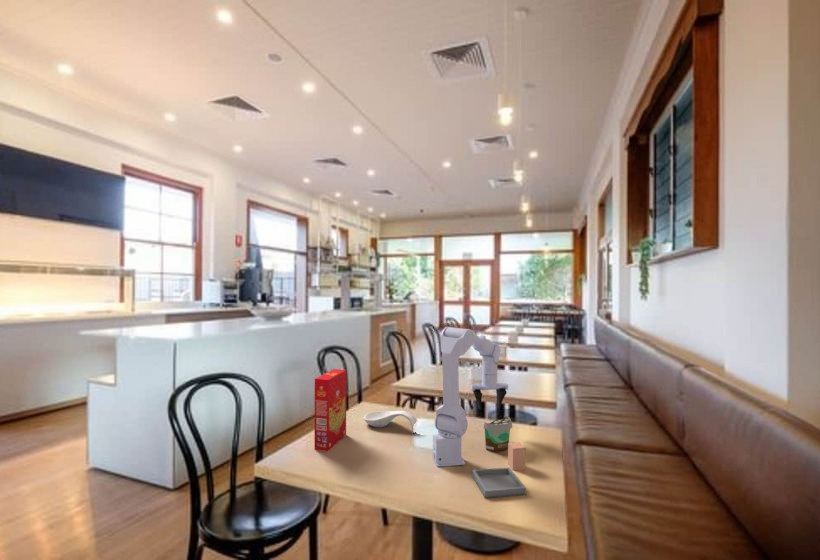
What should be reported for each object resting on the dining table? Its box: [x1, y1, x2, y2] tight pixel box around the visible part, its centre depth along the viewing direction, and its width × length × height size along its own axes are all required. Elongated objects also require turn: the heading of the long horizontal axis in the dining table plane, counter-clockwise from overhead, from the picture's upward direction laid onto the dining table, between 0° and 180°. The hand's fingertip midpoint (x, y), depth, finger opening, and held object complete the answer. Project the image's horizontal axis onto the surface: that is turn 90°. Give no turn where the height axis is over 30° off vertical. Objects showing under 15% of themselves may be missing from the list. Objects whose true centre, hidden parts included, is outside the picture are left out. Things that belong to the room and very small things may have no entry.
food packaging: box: [314, 368, 347, 452], centre depth 148 cm, size 15×5×25 cm, turn 164°
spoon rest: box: [363, 410, 418, 434], centre depth 163 cm, size 24×12×7 cm, turn 64°
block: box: [507, 442, 526, 471], centre depth 130 cm, size 4×4×7 cm
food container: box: [483, 415, 513, 453], centre depth 143 cm, size 12×6×10 cm, turn 129°
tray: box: [471, 466, 527, 499], centre depth 119 cm, size 12×12×2 cm
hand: (489, 408), depth 156 cm, fingers open, 7 cm apart
